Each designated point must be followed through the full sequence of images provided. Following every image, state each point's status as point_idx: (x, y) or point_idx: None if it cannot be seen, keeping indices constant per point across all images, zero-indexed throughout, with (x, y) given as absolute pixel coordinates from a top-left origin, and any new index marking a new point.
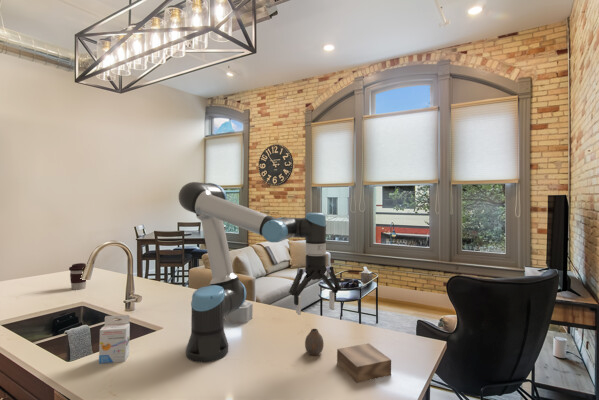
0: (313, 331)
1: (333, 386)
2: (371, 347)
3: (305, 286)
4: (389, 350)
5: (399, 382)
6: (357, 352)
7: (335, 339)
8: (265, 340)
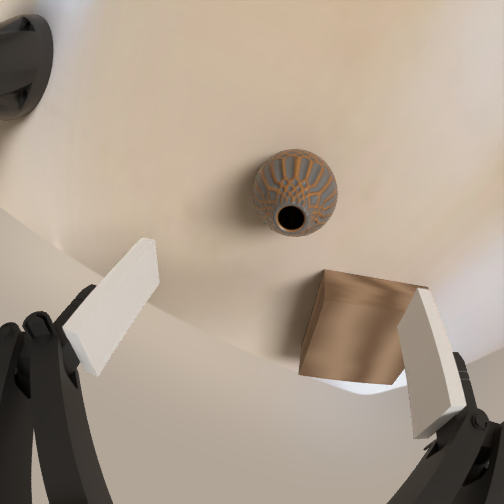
0: (277, 227)
1: (245, 330)
2: None
3: (98, 463)
4: (493, 287)
5: None
6: (360, 339)
7: (445, 131)
8: (165, 5)
